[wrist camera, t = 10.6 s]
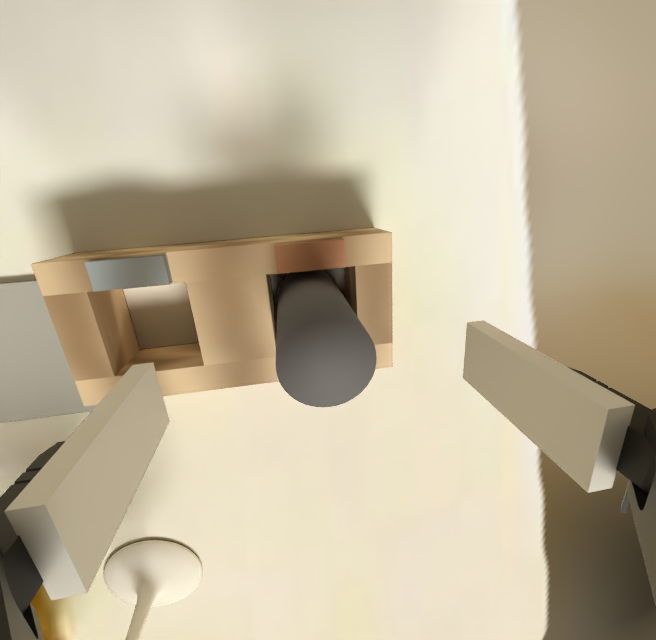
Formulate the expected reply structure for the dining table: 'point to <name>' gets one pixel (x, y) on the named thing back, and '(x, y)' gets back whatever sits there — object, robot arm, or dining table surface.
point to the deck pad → (32, 359)
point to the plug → (320, 342)
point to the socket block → (206, 305)
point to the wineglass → (151, 577)
